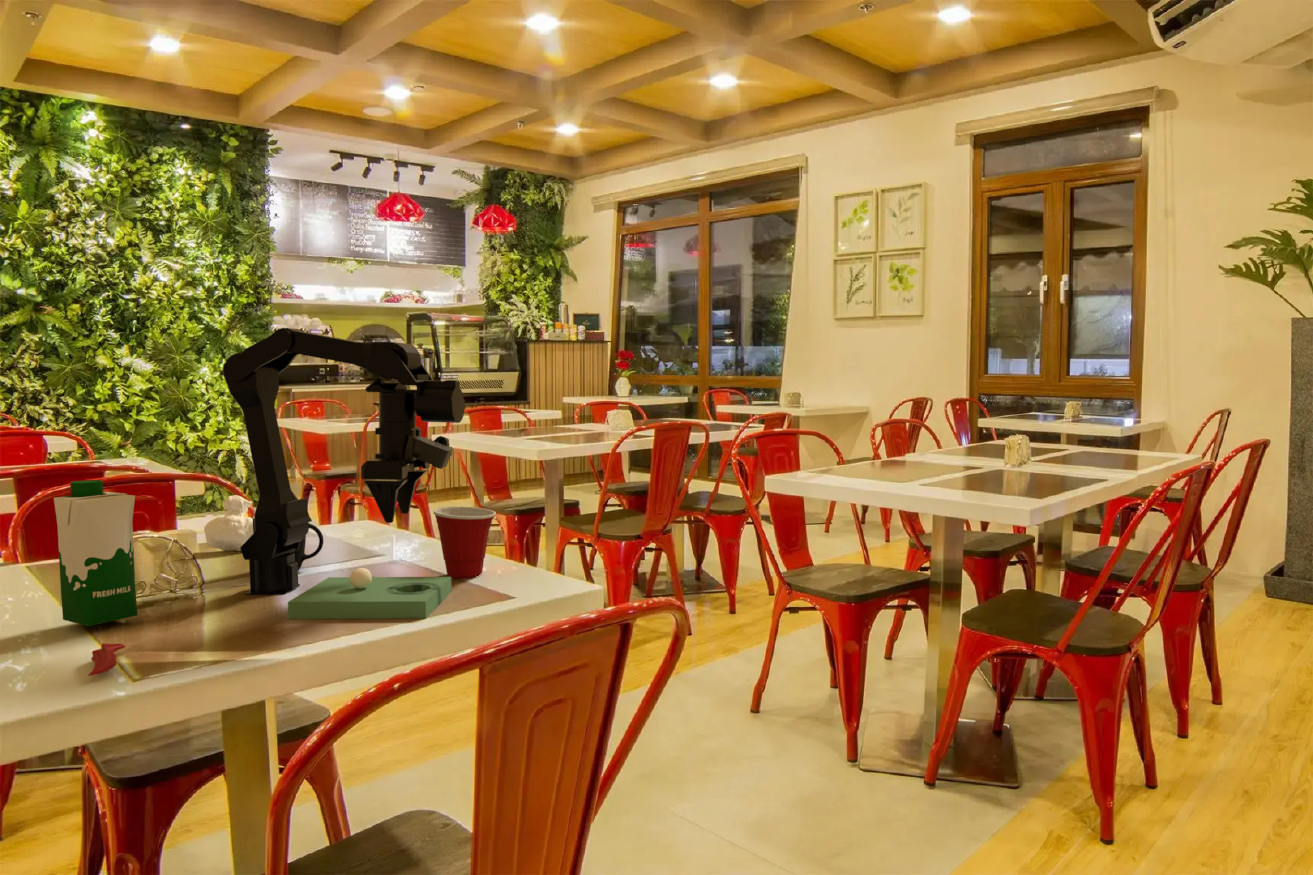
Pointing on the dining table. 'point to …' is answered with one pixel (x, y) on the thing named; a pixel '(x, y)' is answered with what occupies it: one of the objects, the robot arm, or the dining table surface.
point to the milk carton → (96, 554)
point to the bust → (230, 526)
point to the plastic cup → (463, 539)
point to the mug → (300, 553)
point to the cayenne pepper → (105, 658)
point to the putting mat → (371, 598)
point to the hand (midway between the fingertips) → (397, 517)
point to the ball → (361, 578)
